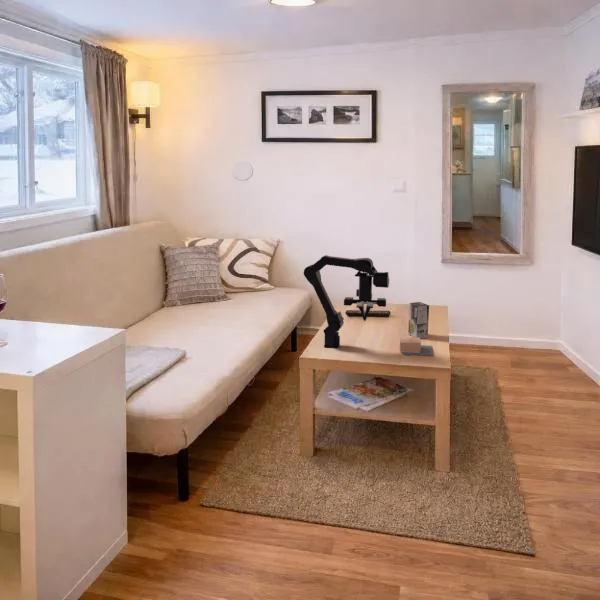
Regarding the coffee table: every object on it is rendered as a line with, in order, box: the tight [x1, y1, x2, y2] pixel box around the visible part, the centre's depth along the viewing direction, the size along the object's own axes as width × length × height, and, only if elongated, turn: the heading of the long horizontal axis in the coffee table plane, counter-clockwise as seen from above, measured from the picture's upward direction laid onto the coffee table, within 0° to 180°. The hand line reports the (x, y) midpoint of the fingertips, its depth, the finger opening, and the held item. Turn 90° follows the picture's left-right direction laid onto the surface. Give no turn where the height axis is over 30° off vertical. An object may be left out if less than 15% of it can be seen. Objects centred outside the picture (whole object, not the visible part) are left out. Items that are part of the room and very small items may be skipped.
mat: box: [402, 344, 434, 357], centre depth 292 cm, size 13×16×1 cm
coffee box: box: [407, 301, 430, 339], centre depth 316 cm, size 9×6×16 cm
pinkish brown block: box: [399, 336, 422, 353], centre depth 292 cm, size 4×10×9 cm
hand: (364, 320), depth 293 cm, fingers closed
